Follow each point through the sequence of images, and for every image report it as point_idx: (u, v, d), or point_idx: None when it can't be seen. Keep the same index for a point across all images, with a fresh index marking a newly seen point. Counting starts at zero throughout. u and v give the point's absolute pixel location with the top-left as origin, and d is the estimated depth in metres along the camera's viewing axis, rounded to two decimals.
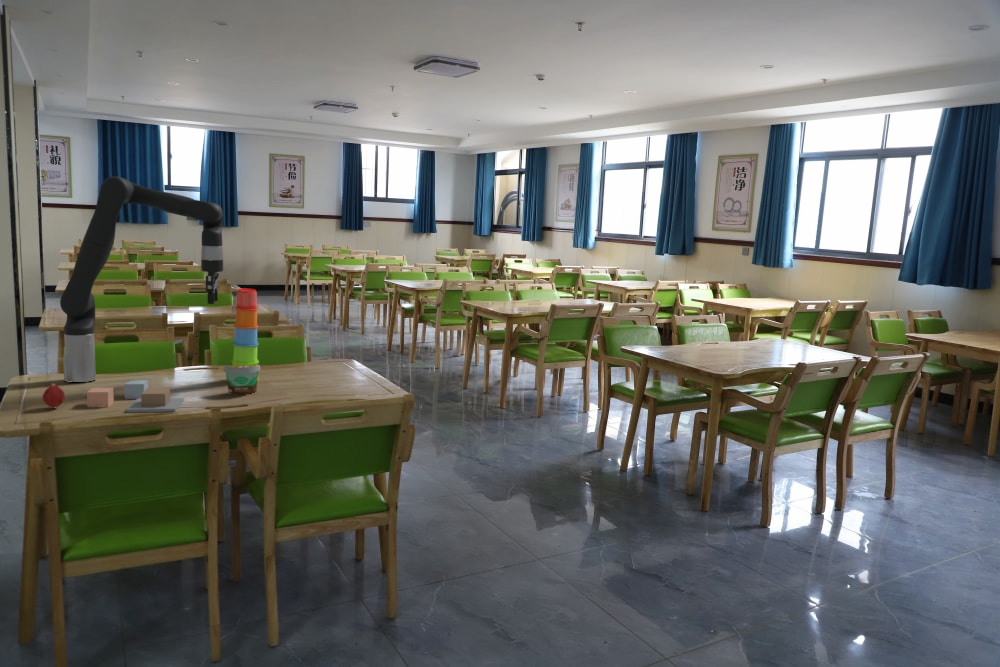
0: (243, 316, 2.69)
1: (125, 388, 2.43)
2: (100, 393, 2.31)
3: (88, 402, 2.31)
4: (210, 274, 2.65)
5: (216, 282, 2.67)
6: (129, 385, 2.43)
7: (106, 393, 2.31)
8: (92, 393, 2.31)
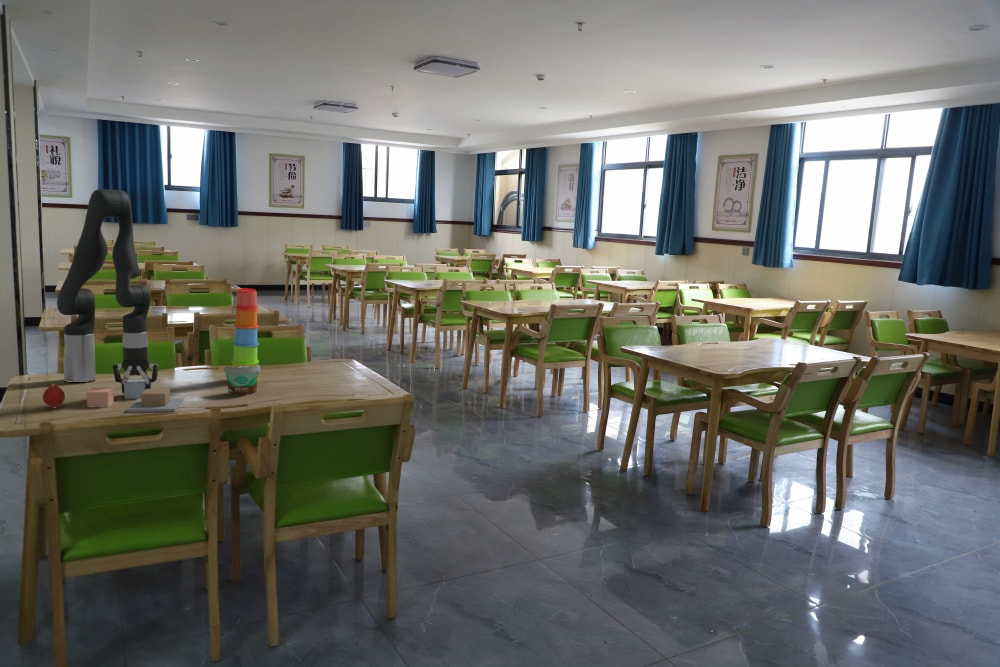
0: (243, 316, 2.69)
1: (125, 388, 2.43)
2: (100, 393, 2.31)
3: (88, 402, 2.31)
4: (147, 361, 2.46)
5: None
6: (129, 385, 2.43)
7: (106, 393, 2.31)
8: (92, 393, 2.31)
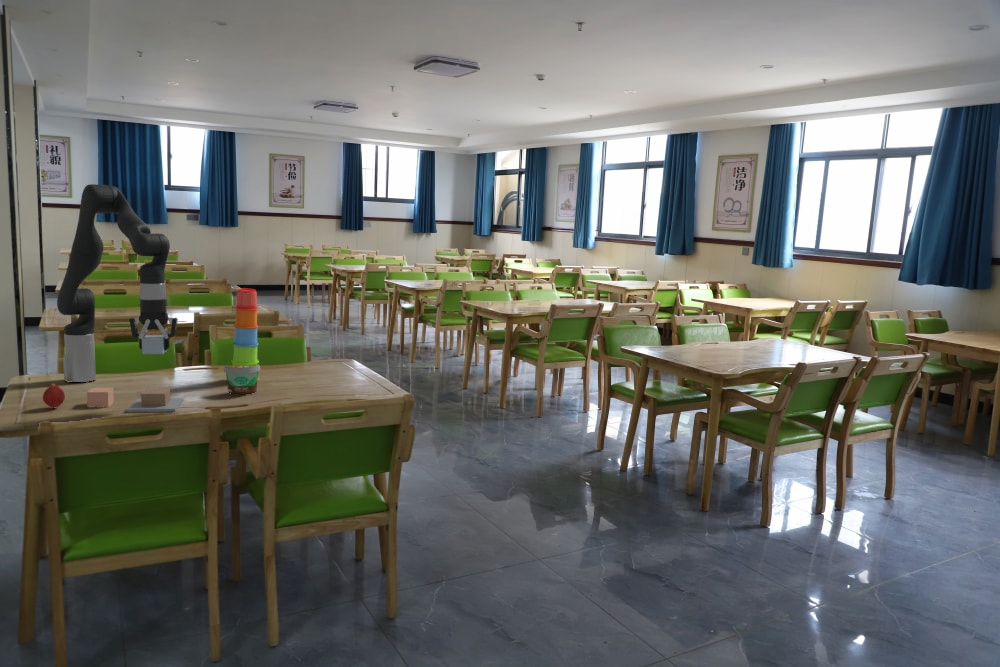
0: (243, 316, 2.69)
1: (143, 342, 2.29)
2: (100, 393, 2.31)
3: (88, 402, 2.31)
4: (166, 315, 2.32)
5: None
6: (147, 339, 2.29)
7: (106, 393, 2.31)
8: (92, 393, 2.31)
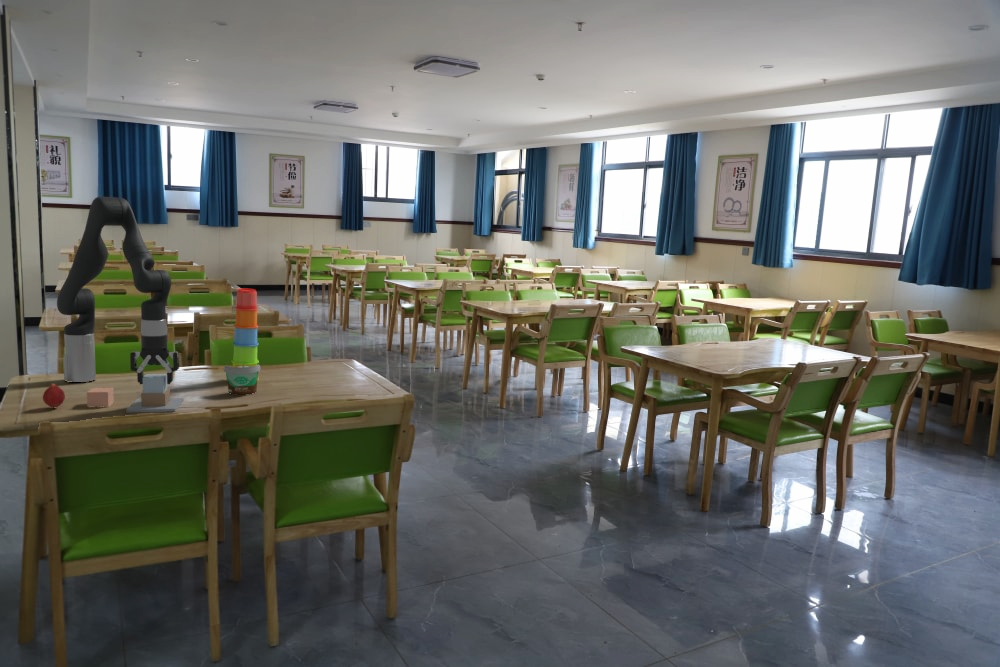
0: (243, 316, 2.69)
1: (143, 382, 2.31)
2: (100, 393, 2.31)
3: (88, 402, 2.31)
4: (167, 350, 2.33)
5: None
6: (148, 379, 2.31)
7: (106, 393, 2.31)
8: (92, 393, 2.31)
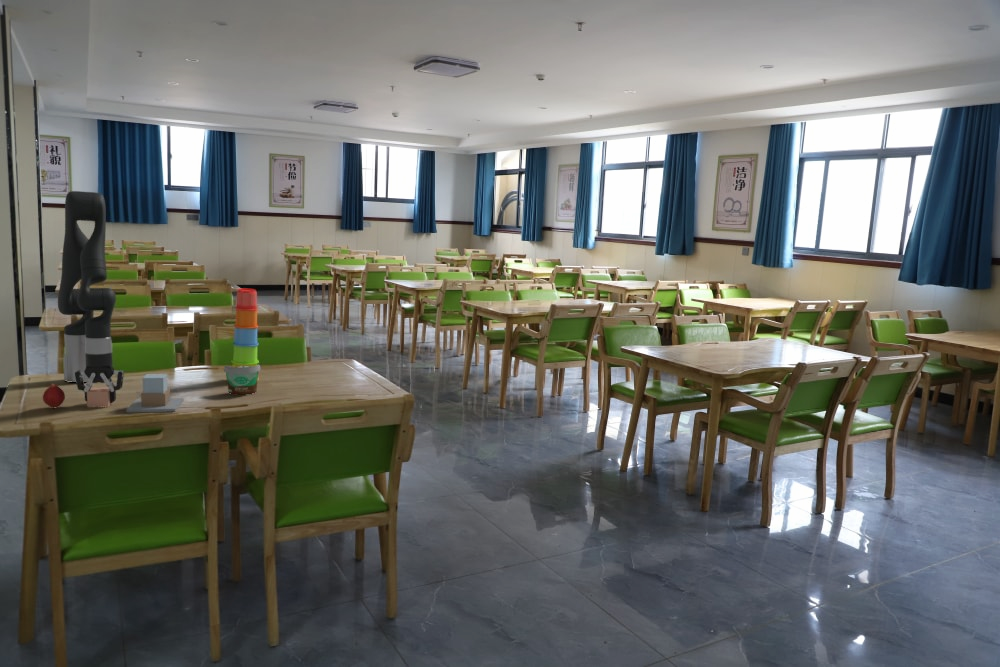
0: (243, 316, 2.69)
1: (143, 382, 2.31)
2: (100, 393, 2.31)
3: (88, 402, 2.31)
4: (112, 368, 2.33)
5: None
6: (148, 379, 2.31)
7: (106, 393, 2.32)
8: (92, 393, 2.31)
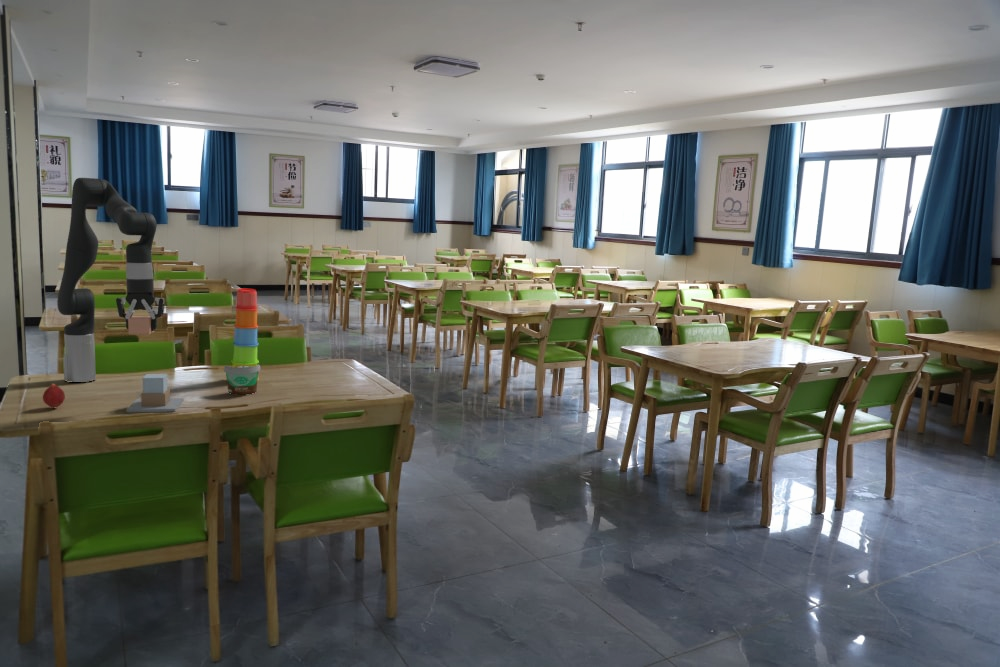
0: (243, 316, 2.69)
1: (143, 382, 2.31)
2: (141, 319, 2.27)
3: (129, 328, 2.27)
4: (153, 295, 2.30)
5: None
6: (148, 379, 2.31)
7: (147, 319, 2.28)
8: (133, 319, 2.27)
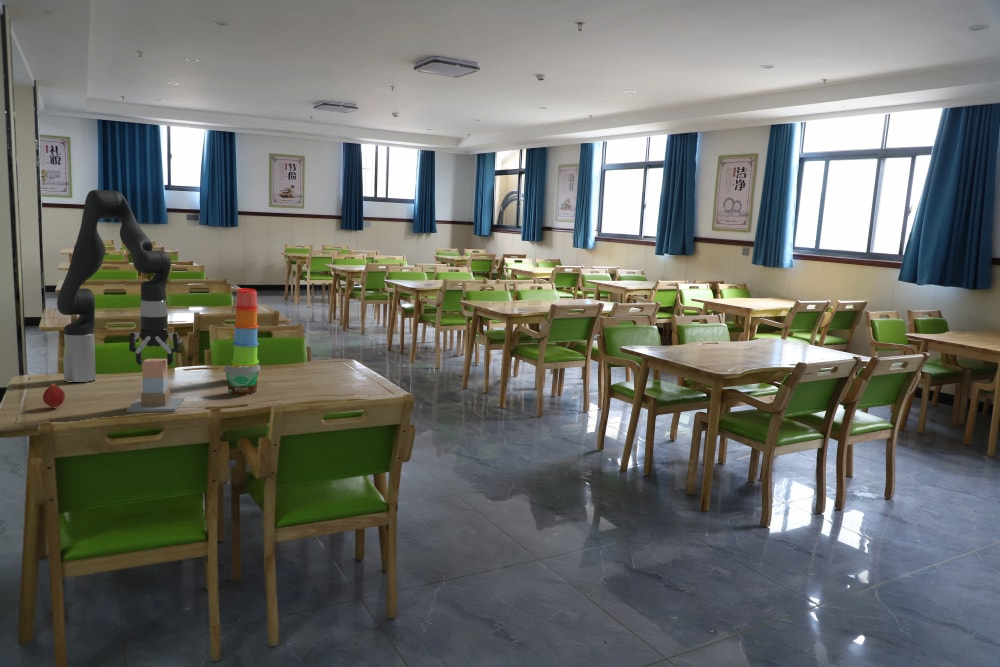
0: (243, 316, 2.69)
1: (143, 382, 2.31)
2: (155, 363, 2.30)
3: (143, 372, 2.30)
4: (166, 332, 2.32)
5: None
6: (148, 379, 2.31)
7: (161, 363, 2.31)
8: (147, 363, 2.30)
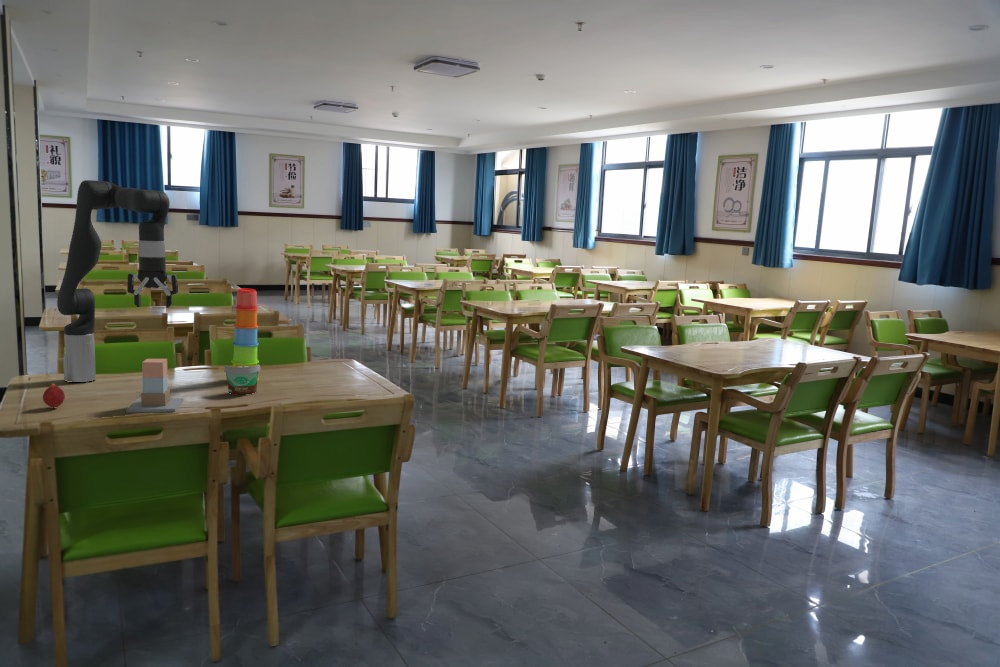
0: (243, 316, 2.69)
1: (143, 382, 2.31)
2: (155, 363, 2.30)
3: (143, 372, 2.30)
4: (165, 273, 2.30)
5: None
6: (148, 379, 2.31)
7: (161, 363, 2.31)
8: (147, 363, 2.30)
